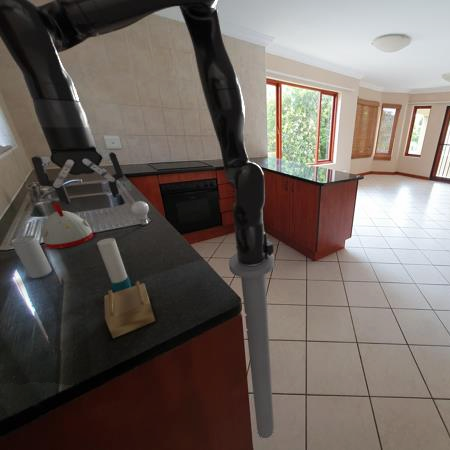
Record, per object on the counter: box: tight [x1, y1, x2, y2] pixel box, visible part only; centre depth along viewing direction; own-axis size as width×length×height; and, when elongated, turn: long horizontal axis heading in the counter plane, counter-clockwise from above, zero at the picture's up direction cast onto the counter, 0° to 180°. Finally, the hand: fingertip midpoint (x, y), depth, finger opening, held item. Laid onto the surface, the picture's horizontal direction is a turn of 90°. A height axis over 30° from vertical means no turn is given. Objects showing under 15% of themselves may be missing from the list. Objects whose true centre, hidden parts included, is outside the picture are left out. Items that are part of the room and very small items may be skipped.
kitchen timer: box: [40, 202, 94, 249], centre depth 89 cm, size 14×14×15 cm
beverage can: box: [11, 235, 53, 279], centre depth 69 cm, size 5×5×12 cm
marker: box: [96, 237, 133, 293], centre depth 63 cm, size 15×4×4 cm
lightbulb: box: [131, 200, 150, 226], centre depth 104 cm, size 6×6×11 cm
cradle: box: [103, 280, 156, 339], centre depth 55 cm, size 8×9×6 cm
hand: (92, 199), depth 56 cm, fingers open, 8 cm apart
